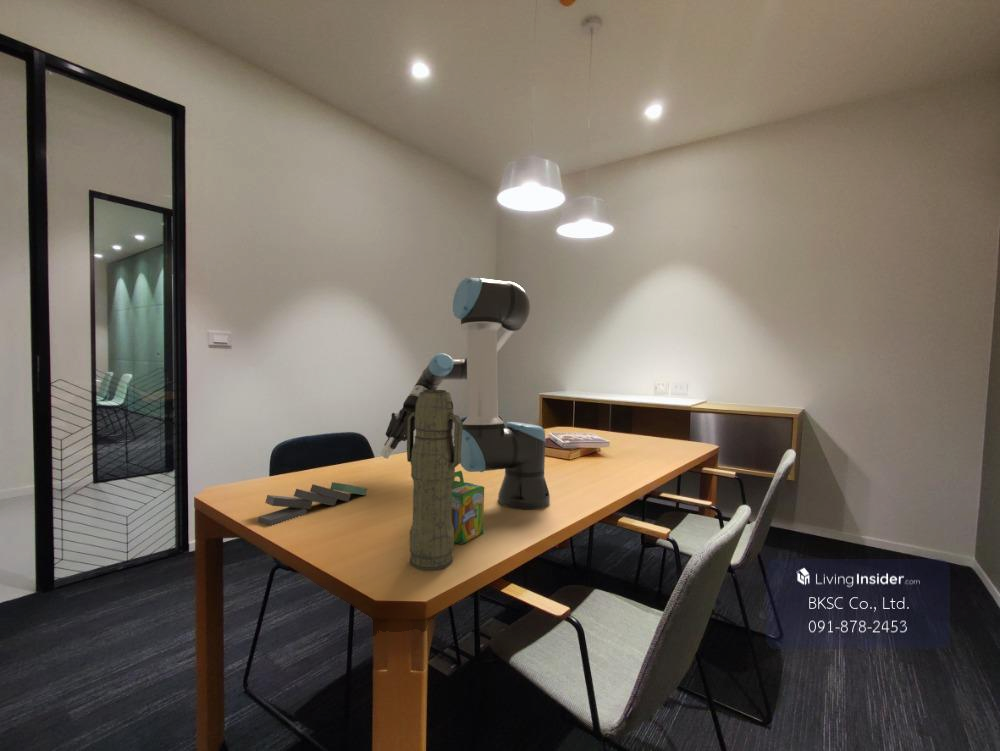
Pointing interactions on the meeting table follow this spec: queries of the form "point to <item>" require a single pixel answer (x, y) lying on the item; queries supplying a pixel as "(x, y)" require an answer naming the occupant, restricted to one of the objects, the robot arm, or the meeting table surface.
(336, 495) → the domino
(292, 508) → the domino
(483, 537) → the meeting table surface
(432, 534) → the thermos
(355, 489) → the green domino
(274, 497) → the domino
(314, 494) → the domino
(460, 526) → the chalk box
